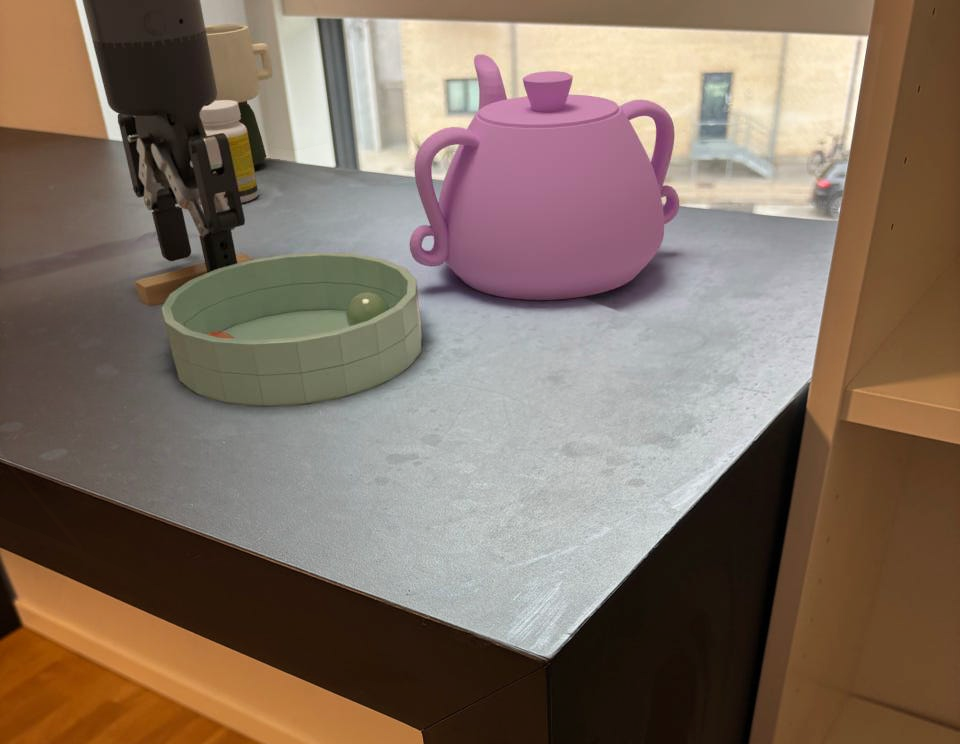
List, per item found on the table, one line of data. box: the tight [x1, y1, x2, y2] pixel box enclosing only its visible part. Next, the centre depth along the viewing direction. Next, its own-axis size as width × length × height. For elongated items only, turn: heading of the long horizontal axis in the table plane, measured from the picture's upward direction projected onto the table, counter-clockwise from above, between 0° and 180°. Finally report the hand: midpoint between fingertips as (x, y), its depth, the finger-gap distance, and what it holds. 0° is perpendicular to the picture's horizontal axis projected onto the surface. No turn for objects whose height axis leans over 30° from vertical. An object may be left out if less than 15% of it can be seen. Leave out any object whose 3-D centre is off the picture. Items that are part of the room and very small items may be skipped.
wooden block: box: [134, 252, 255, 307], centre depth 78 cm, size 9×2×2 cm, turn 127°
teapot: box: [409, 53, 680, 301], centre depth 76 cm, size 22×22×14 cm
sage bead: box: [346, 292, 390, 326], centre depth 68 cm, size 3×3×3 cm
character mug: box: [205, 23, 273, 167], centre depth 106 cm, size 11×7×13 cm, turn 119°
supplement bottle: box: [200, 100, 259, 205], centre depth 98 cm, size 5×5×8 cm
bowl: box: [160, 251, 423, 407], centre depth 67 cm, size 16×16×4 cm
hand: (200, 270), depth 78 cm, fingers open, 8 cm apart
